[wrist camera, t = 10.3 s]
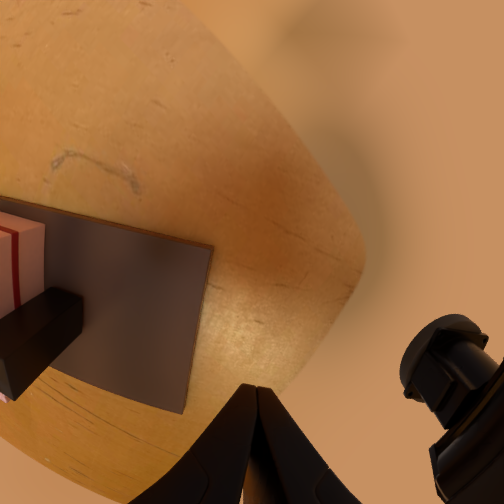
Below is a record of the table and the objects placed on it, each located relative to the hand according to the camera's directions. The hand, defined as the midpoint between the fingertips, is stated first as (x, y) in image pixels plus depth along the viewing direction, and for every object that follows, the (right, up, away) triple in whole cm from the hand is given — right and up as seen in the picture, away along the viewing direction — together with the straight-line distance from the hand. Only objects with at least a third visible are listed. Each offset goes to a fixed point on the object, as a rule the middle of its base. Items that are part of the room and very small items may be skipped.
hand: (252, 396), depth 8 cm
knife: (-18, +1, +11) cm, 21 cm away
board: (-15, 0, +13) cm, 19 cm away
